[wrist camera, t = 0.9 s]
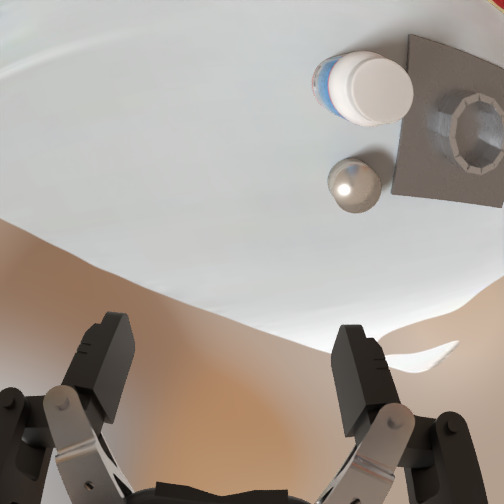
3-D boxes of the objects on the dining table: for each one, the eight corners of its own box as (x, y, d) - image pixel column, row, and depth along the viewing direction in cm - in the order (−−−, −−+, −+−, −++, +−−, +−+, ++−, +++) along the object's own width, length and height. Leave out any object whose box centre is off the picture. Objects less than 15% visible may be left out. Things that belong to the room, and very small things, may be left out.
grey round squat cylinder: (330, 155, 31) (336, 163, 29) (374, 160, 31) (385, 168, 29) (325, 200, 34) (330, 212, 31) (368, 203, 34) (376, 214, 31)
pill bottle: (341, 126, 30) (382, 153, 20) (297, 84, 28) (321, 87, 18) (381, 88, 27) (438, 98, 18) (339, 44, 25) (382, 30, 16)
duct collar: (408, 34, 24) (421, 32, 21) (522, 79, 24) (537, 82, 21) (390, 193, 33) (400, 203, 31) (499, 206, 33) (512, 216, 31)
